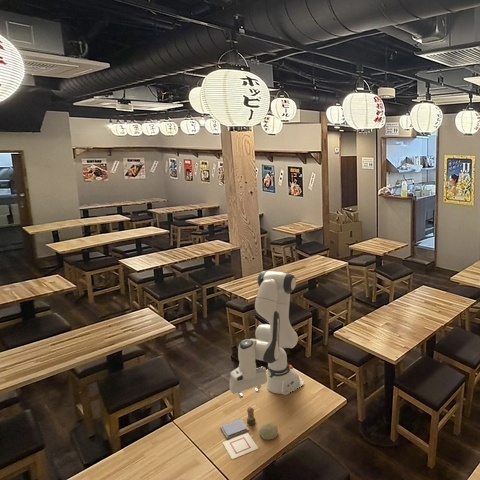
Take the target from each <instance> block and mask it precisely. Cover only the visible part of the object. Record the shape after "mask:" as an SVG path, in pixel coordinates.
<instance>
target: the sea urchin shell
mask: <svg viewBox="0 0 480 480" xmlns="http://www.w3.org/2000/svg"><path fill="white" fill-rule="evenodd" d="M258 431H259V435H260V437H261V438H262V439H264V440H268V441H269V440H274V439H275V438H276V437H277V435H278V432H279V431H278V427H277V426H276V425H275V424H273V423H270V422H267V423H264V424H263V425H262V426H261V427H260V428H259V430H258Z"/></svg>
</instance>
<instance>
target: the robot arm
mask: <svg viewBox="0 0 480 480" xmlns="http://www.w3.org/2000/svg"><path fill="white" fill-rule="evenodd" d="M257 285H258V290H257V293H256V298H255V302H254V309H255V312H256V313H257V314H258V315H259V316H260V317H262V318H263V319H264V320H265V321H267V323H262V324H261V323H260V324H259V325H258V326H257V327H256V329H255V338H250V339H249V338H246V339H243V340H241V341H240V342H239V344H238V350H237V351H238V352H237V353H238V354H237V356H238V361H239V364H238V367H237V368H235V369H233V370H232V371H230V373H229V374H230V378H229V382H228V383H229V384H228V385H229V391H230V393H232V394H233V395H235V394H238V398H239V399H243V398H244V395H243V393H242V392H243V391H247V390H250V389H253V388H255V387H256V388H255V391H254V392H255V393H256V394H258V393H260V389H261V387H262V385H265V384H266V389H267V390H268V392H270V393H274V394H278V395H279V394H280V395H284V396H285V395H286V396H287V395H289V394H291V393H292V391H293V392H294V391H297V390H298V389H300V388H301V386H302V385H303V386H305V382H304V380H303V379H302V377H300V375H299V373H298V371H296V370H295V369H294V367H293V365H292V364H290V363H288V357H287V355H288V354H287V352H286V350H285V349H293V348H295V346H297V344H298V342H299V341H298V339H299V337H298V333H297V331H295V329H294V328H293V326H292V324H291V322H290V317H289V316H290V315H289V314H290V304H291V303H290V302H291V293H292V292H293V291H294V290H295V289H296V286H297V279H296V277H295V275H294V274H291V273H288V272H283V271H273V270H272V271H269V270H263V271H261V272H260V273H259V274H258V277H257ZM268 323H269V324H268ZM256 360H259V361H263V362H265V363H267V368H266V366H260V367H257V363H256ZM267 374H268V376H267ZM303 386H302V387H303ZM299 387H300V388H299ZM297 388H298V389H297ZM290 392H291V393H290Z"/></svg>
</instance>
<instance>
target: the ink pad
mask: <svg viewBox="0 0 480 480" xmlns="http://www.w3.org/2000/svg"><path fill="white" fill-rule="evenodd" d="M220 430H221V431H222V433H223V435H224V437H225V438H226V440H230V439H232V438H235V437H238V436H240V435H243V434H245V433H249V428H248V427H247V425H246V424H245V422H244V421H243V420H242V418H240V419H238V420H235V421H232V422H229V423H227V424H223V425H221V426H220Z"/></svg>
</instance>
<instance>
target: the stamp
mask: <svg viewBox="0 0 480 480" xmlns="http://www.w3.org/2000/svg"><path fill="white" fill-rule="evenodd" d="M246 411H247V419H246V423H247V425H249V426H251V427H252V426H254V425H256V417H255V414H254V412H255V409H254V407H251V406H249V407H248V408H247V410H246Z"/></svg>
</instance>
